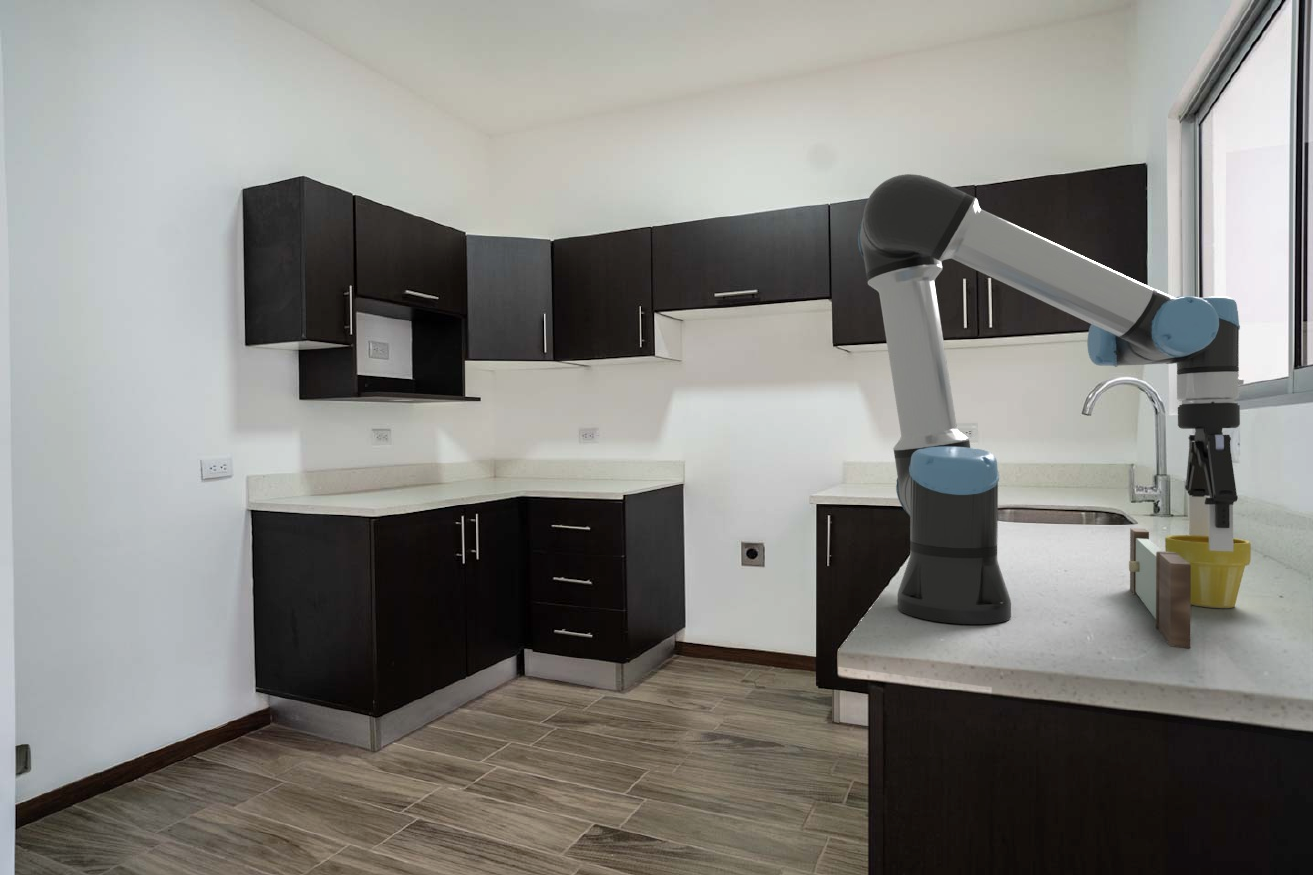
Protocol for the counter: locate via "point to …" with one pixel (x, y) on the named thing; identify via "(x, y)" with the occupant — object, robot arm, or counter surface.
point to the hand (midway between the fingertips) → (1209, 544)
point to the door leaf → (1145, 572)
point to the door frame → (1168, 592)
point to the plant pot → (1212, 569)
